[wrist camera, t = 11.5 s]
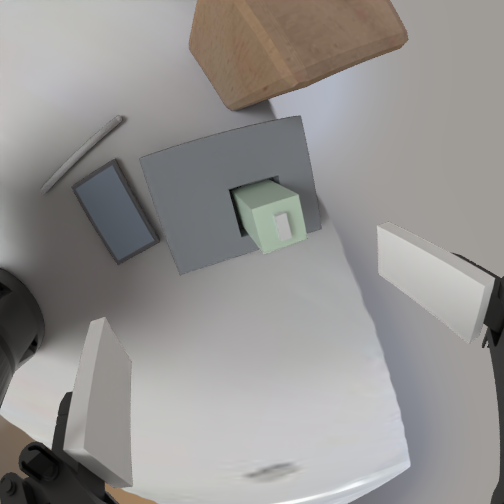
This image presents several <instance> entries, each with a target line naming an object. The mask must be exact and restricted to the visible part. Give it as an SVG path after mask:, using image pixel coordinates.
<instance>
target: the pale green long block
mask: <svg viewBox="0 0 504 504" xmlns="http://www.w3.org/2000/svg"><path fill="white" fill-rule="evenodd" d="M232 193H233V197H234V200H235V203H236V207H237V210H238V214H239V217H240V220H241V224H242V226H243V227H244V228H245V230H246V231H247V233H248V234H249V235H250V237H251V238H252V239H253V241H254V242H255V243H256V245H257V246H258V247H259V249H260V250H261V251H262V253H263V254H267V253H270V252H272V251H275V250H278V249H281V248H284V247H286V246H289V245H292V244H295V243H297V242H300V241H303V240H306V239H308V238H307V233H306V228H305V223H304V218H303V214H302V209H301V204H300V200H299V195H298V194H297V193H295V192H293V191H291V190H289V189H287V188H285V187H283V186H281V185H279V184H277V183H275V182H273V181H271V180H269V179H265V180H262V181H259V182H256V183H252V184H249V185H246V186H243V187H240V188H237V189H233V190H232Z"/></svg>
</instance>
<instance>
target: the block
mask: <svg viewBox="0 0 504 504" xmlns="http://www.w3.org/2000/svg"><path fill="white" fill-rule="evenodd" d="M407 41H408V35H407V31H406V29H405V27H404V25H403V23H402V21H401V20H400V17H399V15H398V14H397V12H396V10H395V8H394V7H393V5H392V3H391V1H390V0H197V4H196V9H195V14H194V19H193V24H192V29H191V34H190V40H189V49H190V51H191V53H192V54H193V56H194V57H195V59H196V60H197V62H198V63H199V65H200V66H201V68H202V69H203V71H204V73H205V74H206V76H207V77H208V79H209V80H210V82H211V83H212V85H213V87H214V88H215V90H216V91H217V93H218V95H219V96H220V98H221V99H222V101H223V103H224V104H225V106H226V107H227V108H228V109H230V110H231V111H235V110H240V109H242V108H245V107H248V106H250V105H253V104H256V103H259V102H261V101H264V100H267V99H270V98H273V97H276V96H279V95H282V94H285V93H288V92H291V91H294V90H298V89H301V88H304V87H307V86H309V85H311V84H313V83H316V82H318V81H320V80H322V79H324V78H327V77H329V76H331V75H333V74H336V73H338V72H340V71H343V70H345V69H347V68H350V67H352V66H354V65H357V64H359V63H362V62H365V61H367V60H370V59H372V58H375V57H378V56H380V55H383V54H386V53H389V52H392V51H394V50H397V49H400V48H401V47H402V46H403V45H404V44H405V43H406V42H407Z"/></svg>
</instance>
